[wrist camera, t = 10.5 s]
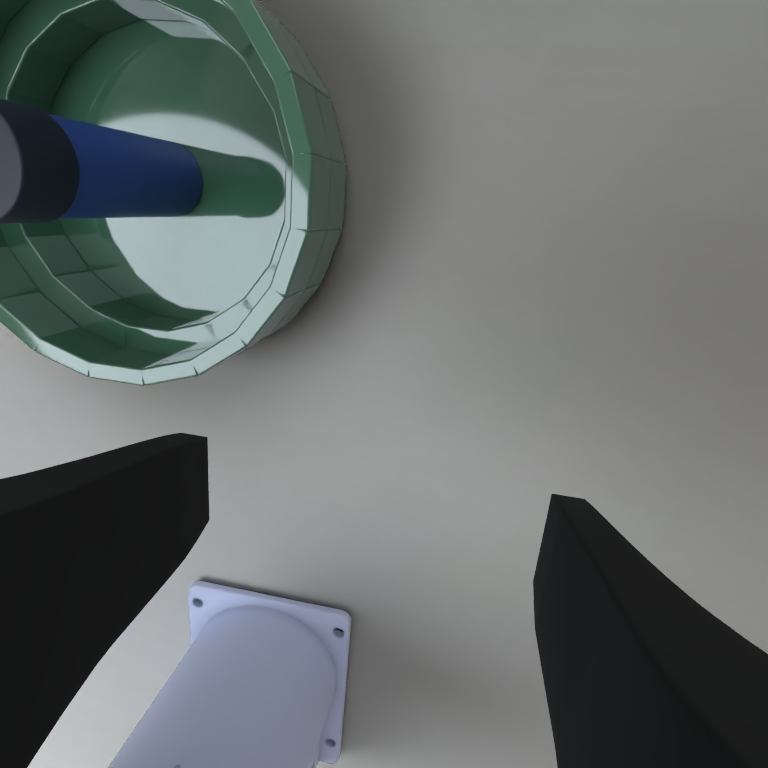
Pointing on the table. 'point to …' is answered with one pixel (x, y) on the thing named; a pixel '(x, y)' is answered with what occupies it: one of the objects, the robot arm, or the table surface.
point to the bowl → (219, 184)
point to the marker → (88, 170)
